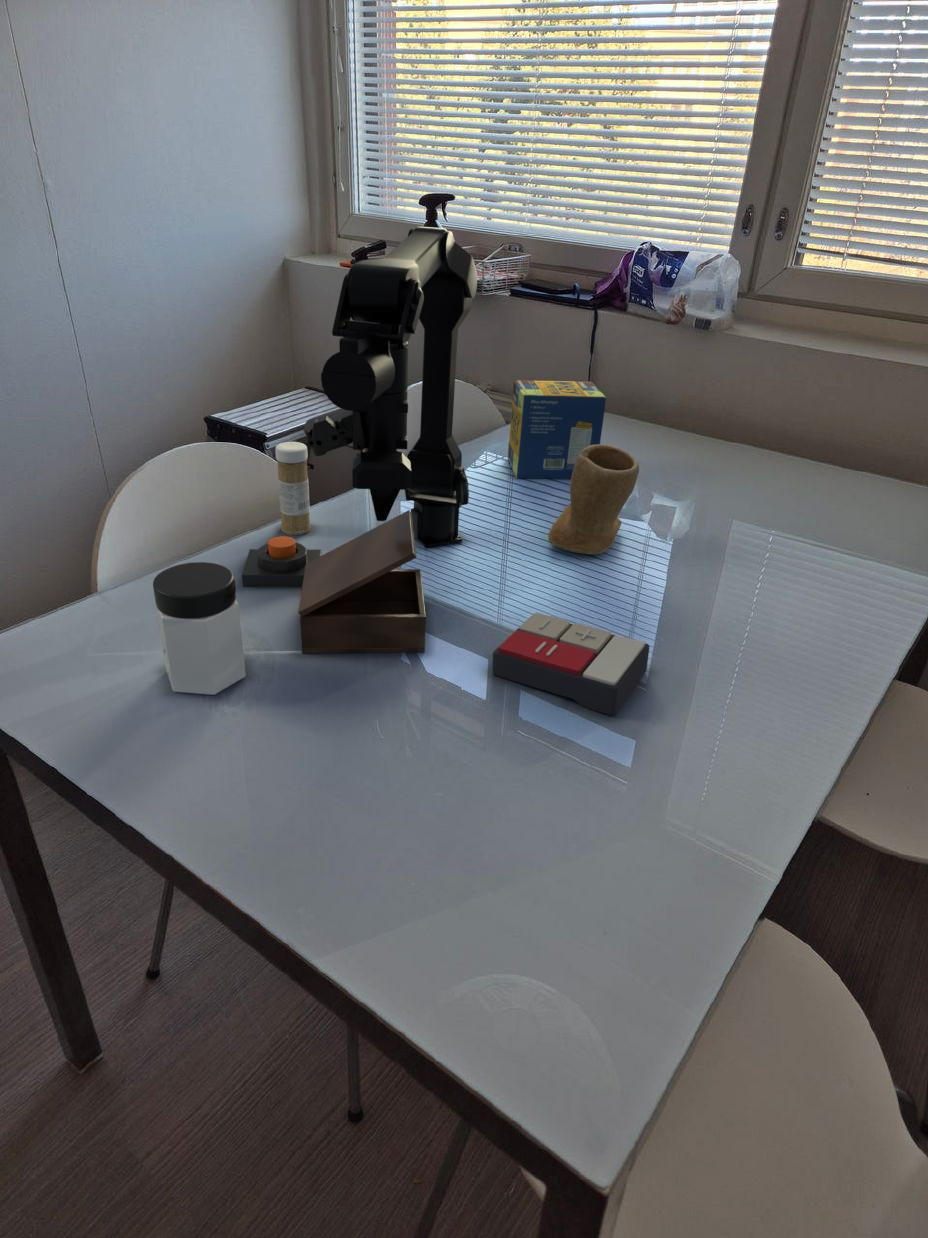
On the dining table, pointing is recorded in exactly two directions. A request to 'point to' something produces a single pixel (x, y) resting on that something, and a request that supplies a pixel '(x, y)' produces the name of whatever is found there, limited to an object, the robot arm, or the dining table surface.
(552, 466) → the protein box
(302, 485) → the sprinkles bottle
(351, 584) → the lid
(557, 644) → the calculator
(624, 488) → the stone cup
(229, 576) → the jar
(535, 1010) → the dining table surface
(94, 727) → the dining table surface
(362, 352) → the robot arm
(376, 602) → the wooden box
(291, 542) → the button
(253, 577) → the control block
